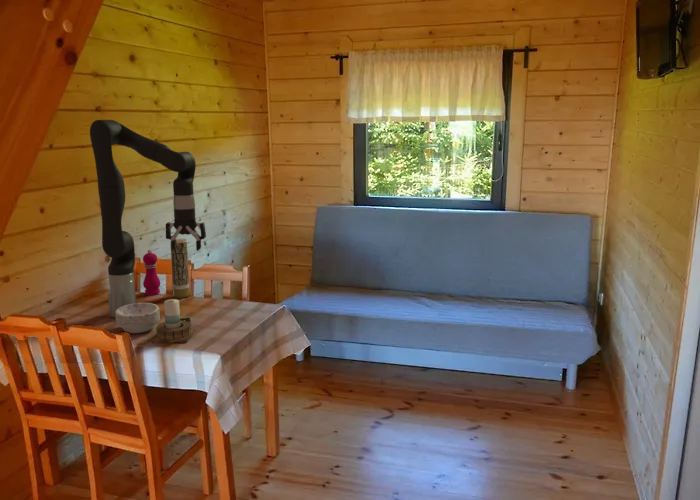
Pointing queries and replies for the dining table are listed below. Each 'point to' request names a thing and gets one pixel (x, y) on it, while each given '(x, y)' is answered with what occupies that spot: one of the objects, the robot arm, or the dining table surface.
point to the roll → (172, 314)
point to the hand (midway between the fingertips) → (186, 250)
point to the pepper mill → (151, 274)
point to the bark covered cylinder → (180, 269)
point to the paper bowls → (137, 317)
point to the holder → (174, 333)
